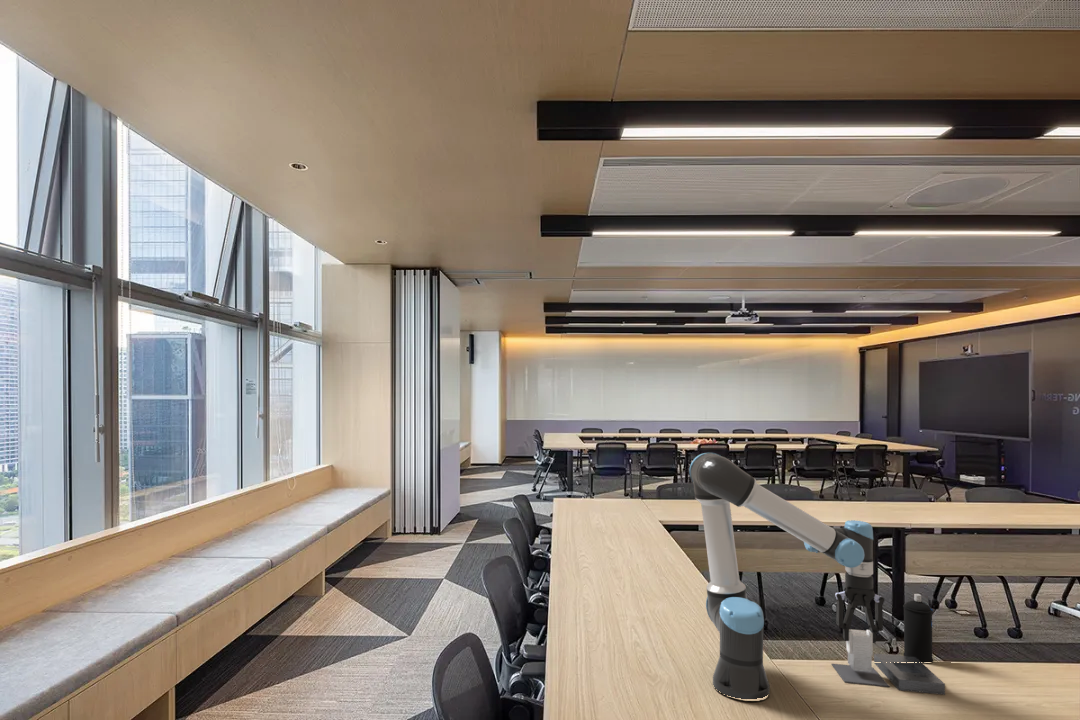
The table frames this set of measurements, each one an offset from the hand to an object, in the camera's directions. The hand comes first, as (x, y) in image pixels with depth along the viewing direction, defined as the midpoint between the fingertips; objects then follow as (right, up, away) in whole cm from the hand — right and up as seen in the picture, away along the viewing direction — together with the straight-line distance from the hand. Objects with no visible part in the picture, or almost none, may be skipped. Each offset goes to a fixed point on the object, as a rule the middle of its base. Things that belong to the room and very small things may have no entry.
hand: (859, 652), depth 180 cm
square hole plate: (+14, -7, -1) cm, 16 cm away
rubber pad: (0, -7, 0) cm, 7 cm away
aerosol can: (+26, -9, +14) cm, 31 cm away
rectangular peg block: (0, -4, 0) cm, 4 cm away
